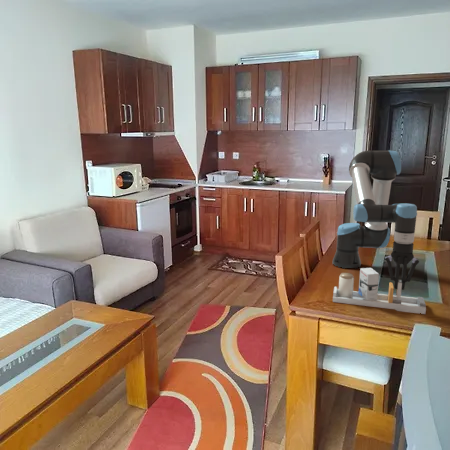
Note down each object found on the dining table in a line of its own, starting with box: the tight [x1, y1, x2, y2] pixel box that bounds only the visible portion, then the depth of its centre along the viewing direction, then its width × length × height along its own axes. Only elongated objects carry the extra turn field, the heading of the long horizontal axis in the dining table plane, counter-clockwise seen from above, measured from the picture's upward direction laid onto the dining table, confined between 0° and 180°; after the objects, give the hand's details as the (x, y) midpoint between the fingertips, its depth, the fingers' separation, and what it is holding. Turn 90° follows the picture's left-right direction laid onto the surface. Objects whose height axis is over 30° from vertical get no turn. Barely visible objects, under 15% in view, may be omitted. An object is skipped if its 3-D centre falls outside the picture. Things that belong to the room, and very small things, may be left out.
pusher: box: [387, 281, 401, 304], centre depth 166 cm, size 7×5×8 cm
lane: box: [332, 286, 427, 315], centre depth 168 cm, size 10×36×4 cm, turn 72°
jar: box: [338, 272, 355, 299], centre depth 172 cm, size 6×6×11 cm
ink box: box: [358, 267, 380, 301], centre depth 168 cm, size 8×5×12 cm, turn 5°
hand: (398, 296), depth 166 cm, fingers closed
